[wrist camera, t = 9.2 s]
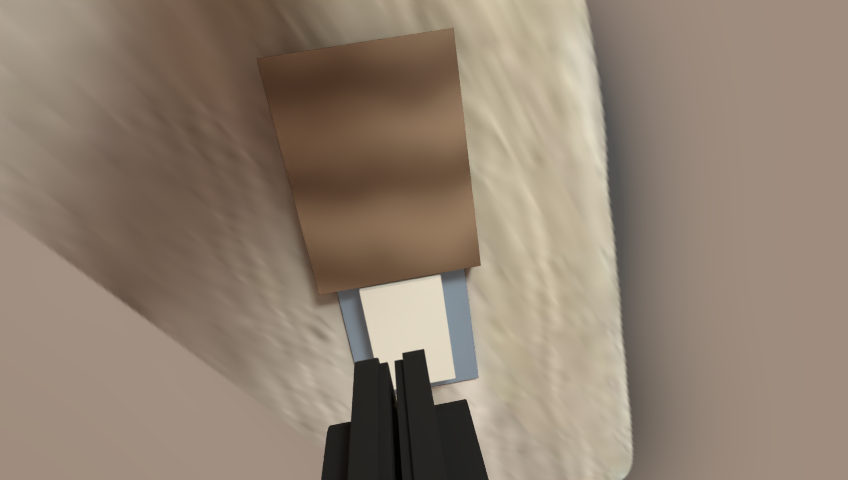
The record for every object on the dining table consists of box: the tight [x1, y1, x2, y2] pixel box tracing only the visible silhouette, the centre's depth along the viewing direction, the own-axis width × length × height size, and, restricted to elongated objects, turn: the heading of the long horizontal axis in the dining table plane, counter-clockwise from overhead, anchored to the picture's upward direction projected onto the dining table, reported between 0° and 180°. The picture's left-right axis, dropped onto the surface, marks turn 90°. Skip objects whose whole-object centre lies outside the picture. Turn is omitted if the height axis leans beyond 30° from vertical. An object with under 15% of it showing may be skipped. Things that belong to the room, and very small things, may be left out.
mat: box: [337, 269, 478, 394], centre depth 35 cm, size 11×10×1 cm
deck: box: [257, 28, 481, 295], centre depth 30 cm, size 16×12×2 cm
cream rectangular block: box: [359, 273, 456, 390], centre depth 34 cm, size 9×6×2 cm, turn 9°
